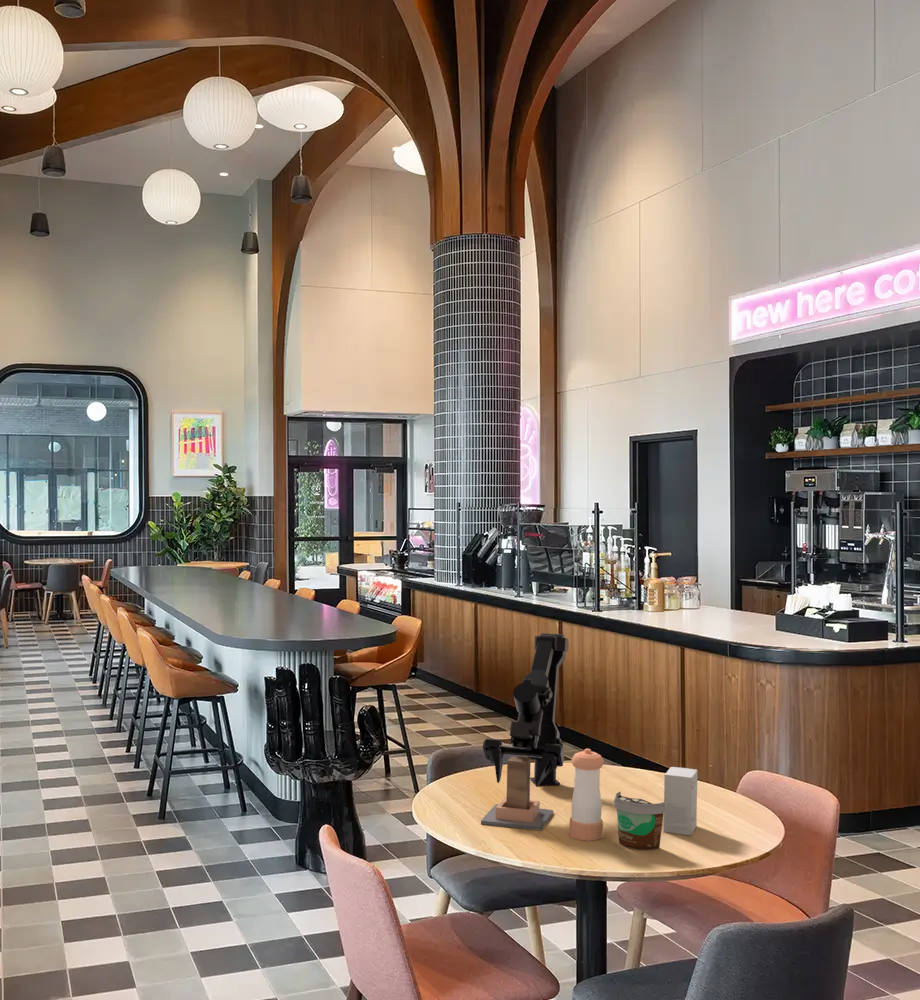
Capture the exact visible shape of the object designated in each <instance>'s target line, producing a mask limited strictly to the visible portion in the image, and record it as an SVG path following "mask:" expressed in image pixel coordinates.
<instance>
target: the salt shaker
mask: <svg viewBox="0 0 920 1000" xmlns="http://www.w3.org/2000/svg"><path fill="white" fill-rule="evenodd" d="M571 763H572V764H571V765H572V766H573V767H574V787H573V792H572V793H573V794H572V798H571V799H572V800H571V817H570V818H569V833H568V834H569V836H570V837H572V838H573V839H575V840H580V841H587V842H588V841H598V840H600V839H602V838H603V837H604V836H603V829H604V827H603V825H604V821H603V819H602V811H603V809H602V807H603V805H602V798H601V789H600V787H601V785H600V782H601V781H600V779H601V778H600V775H601V774H600V773H601V772H600V771H601V768H602V767H603V766H604V758H603V757H602V755H601V754H599V753H597V752H595V751H592V749H590V748H585V749H584V750H581V751H578V752H576V753H574V754H573V756H572V757H571Z"/></svg>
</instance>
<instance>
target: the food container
mask: <svg viewBox="0 0 920 1000" xmlns="http://www.w3.org/2000/svg"><path fill="white" fill-rule="evenodd" d="M621 794H622V793H621V791H618V792H616V794H615V796H614V799H613V807H614V808H615V809H616V822H617V823H616V824H617V835H618V844H620V846H622V847H624V848H627V849H631V850H637V851H638V850H639V851H651V850H658V849H660V846H661V837H662V836H661V835H662V829H663V822H664V813H665V812H666V807H665V805H664V801H663V802H659V803H652V802H649V801H647V800H645V799H642V798H633V797H628V796H622V795H621Z"/></svg>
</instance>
